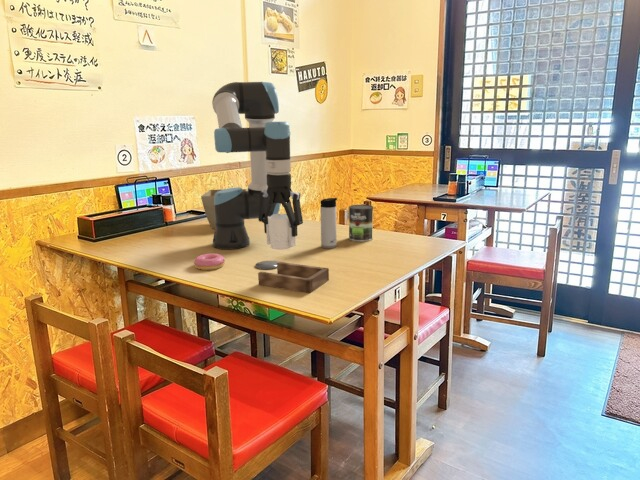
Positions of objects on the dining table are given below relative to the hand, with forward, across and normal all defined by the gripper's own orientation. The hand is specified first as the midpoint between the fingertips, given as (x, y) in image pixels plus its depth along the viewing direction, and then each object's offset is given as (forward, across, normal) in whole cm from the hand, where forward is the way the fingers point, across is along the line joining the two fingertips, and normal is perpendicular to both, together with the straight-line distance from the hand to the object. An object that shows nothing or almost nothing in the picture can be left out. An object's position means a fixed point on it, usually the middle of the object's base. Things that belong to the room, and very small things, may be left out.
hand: (281, 244), depth 157 cm
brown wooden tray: (+12, +4, 0) cm, 13 cm away
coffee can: (+13, +3, +60) cm, 62 cm away
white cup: (+1, 0, 0) cm, 1 cm away
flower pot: (+14, -66, +58) cm, 89 cm away
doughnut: (+13, -32, +3) cm, 34 cm away
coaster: (+12, -13, +12) cm, 21 cm away
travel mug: (+13, -4, +44) cm, 45 cm away
